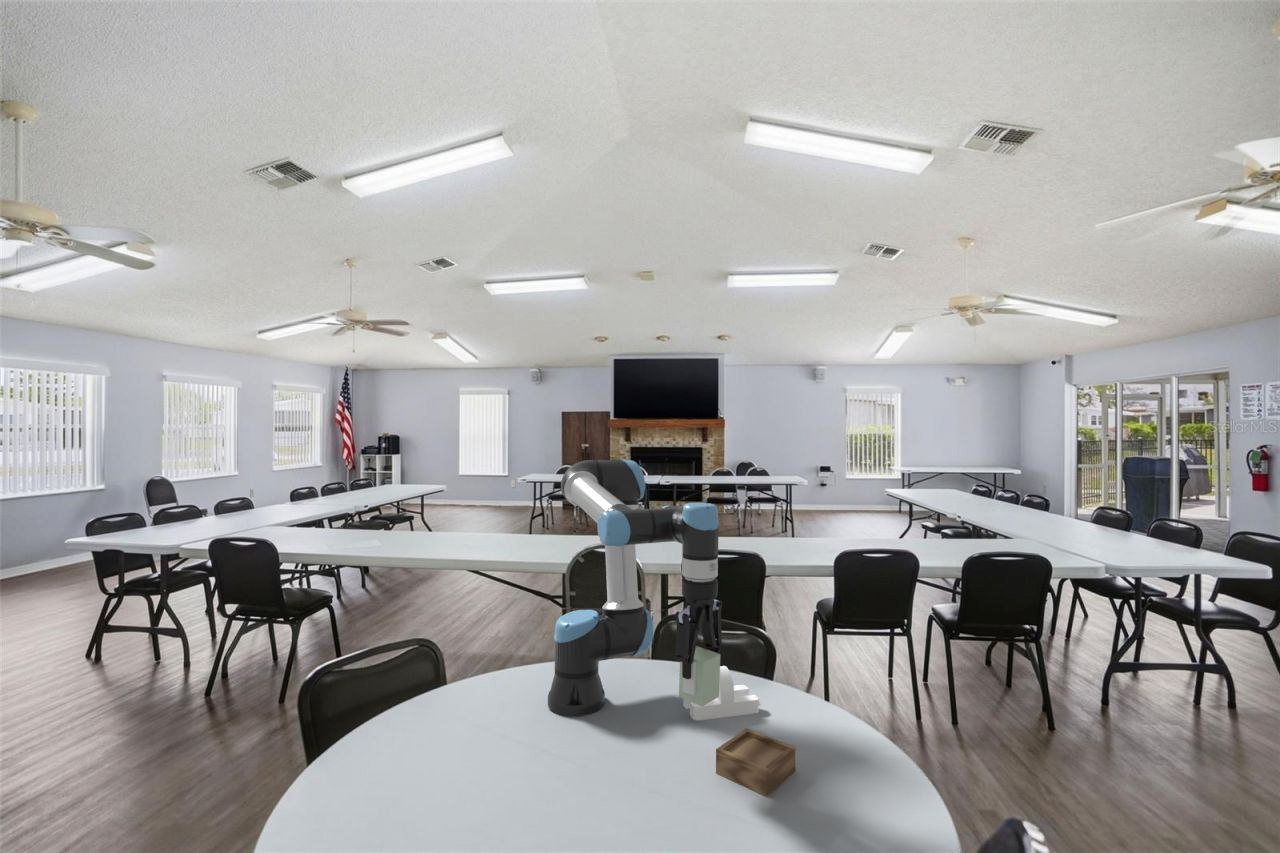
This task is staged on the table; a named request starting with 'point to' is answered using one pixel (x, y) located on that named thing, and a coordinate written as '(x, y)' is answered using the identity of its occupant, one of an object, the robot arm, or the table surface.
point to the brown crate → (755, 761)
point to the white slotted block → (725, 701)
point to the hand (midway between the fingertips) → (698, 687)
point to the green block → (703, 677)
